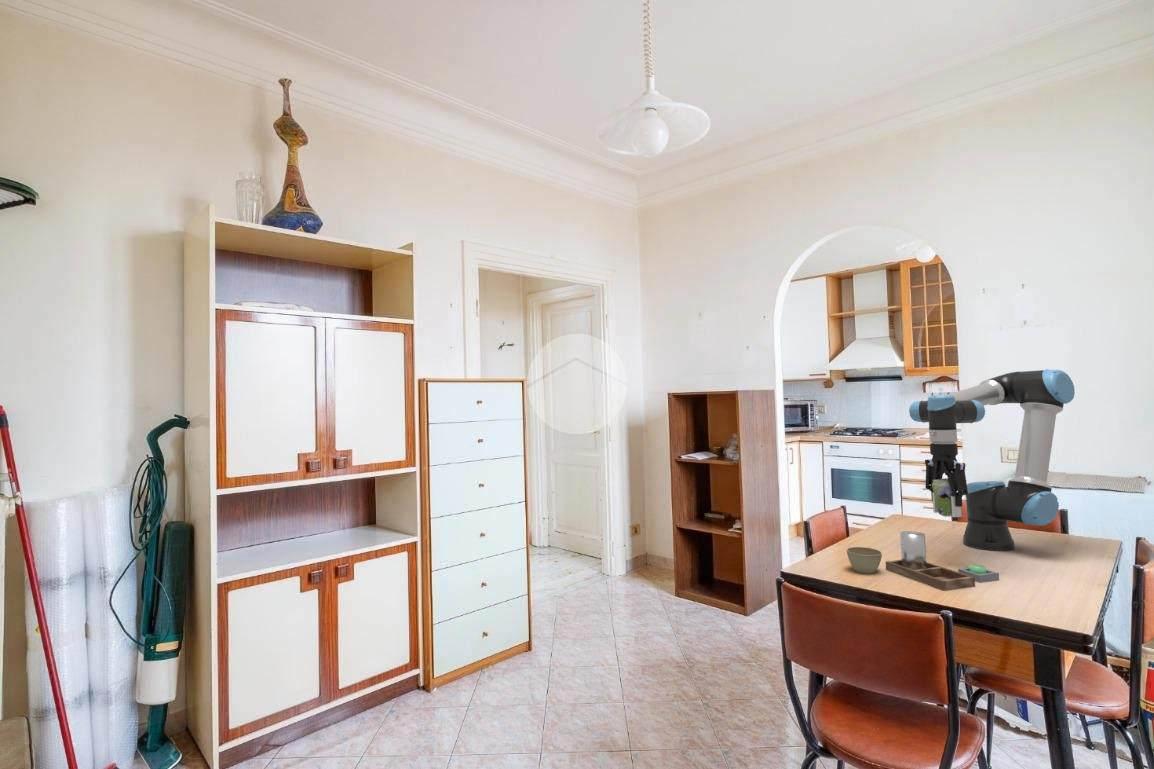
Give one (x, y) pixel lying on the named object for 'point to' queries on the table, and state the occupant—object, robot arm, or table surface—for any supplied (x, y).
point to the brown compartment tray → (933, 576)
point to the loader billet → (913, 550)
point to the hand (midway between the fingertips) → (947, 514)
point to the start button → (978, 569)
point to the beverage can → (943, 496)
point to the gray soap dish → (981, 575)
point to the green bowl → (864, 559)
